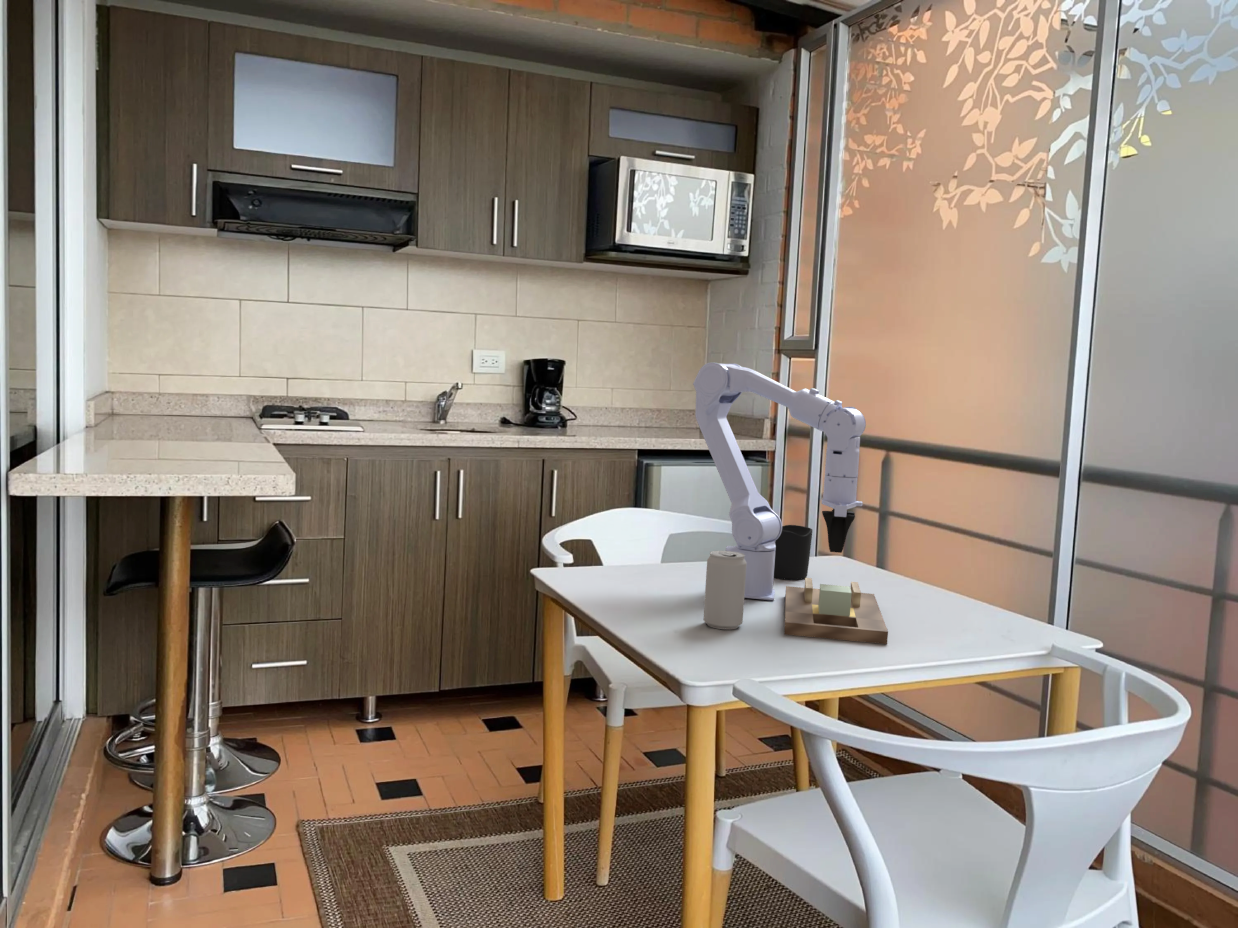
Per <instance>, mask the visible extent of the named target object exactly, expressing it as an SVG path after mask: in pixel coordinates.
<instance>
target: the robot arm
mask: <svg viewBox="0 0 1238 928" xmlns="http://www.w3.org/2000/svg"><path fill="white" fill-rule="evenodd" d="M692 385H693V387H694V390H695V392H696V393H695V411H694V413H695V419H696V422H697V424H698V427H699V430H700V431H701V434H702V437H703V439H704V441H705V444H706V446H707V448H708V451H709V453H710V455H711V457H712V460H713V462H714V464H715V465H714V466H715V467H716V470H717V473H718V475H719V477H720V480H721V481H722V484H723V486H724V489H725V491H726V494H727V496H728V498H729V501H730V503H731V505H730V509H729V512H728V513H729V514H728V517H729V518H730V521H731V535H732V537H733V540H734V541H735V543H736V545H733V546H732V545H726V547H725V551H733V552H739V553H742V554H744V555H745V557H744V559H745V561H746V563H747V564H746V579H745V594H744V599H755V600H763V601H764V600H765V601H774V600H775V594H776V590H775V589H774V579H775V578H774V564H775V549H776V545H775V540H777V539H778V538H779V536H780V535H781V532H782V526H783V522H782V520H781V518H780V516H779V514H777V513H776V512H775V511H774V510H773V509H772V507H771V505H770V504H769V501H768V499H766V498H764V496H763V495H761V494H760V493H759V490H758V488H757V487H756V484H755V482H754V479H753V478H752V475H751V472H750V470H749V467H748V466H747V465H748V464H747V463H746V461H745V457H744V455H743V454H742V451H741V449H740V447H739V444H738V442H737V439H736V438H735V437H736V436H735V434H734V433H733V430H732V428H731V426H730V423H729V421H728V417H727V416H728V415H729V414H728V413H729V412H730V410H731V407H732V405H733V404H734V403H735V402H736V400H737V399H738V398H739V397H741V395H742V394H743V393H753V394H756V395H758V396H760V397H763V398H765V399H767V400H770V401H771V402H774V403H777V404H779V405H781V406H783V407H786V408H787V409H788V411H789V414H790V416H791V418H793V419H794V420H796V421H799V422H801V423H803V424H806V425H808V426H809V427H812V428H814V429H816V430H818V431H820V432H824V435H825V436H826V438H827V441H826V442H827V443H826V453H825V464H824V466H825V467H824V478H823V479H824V481H823V492H822V493H823V494H822V495H823V496H822V498H821V504H822V505H824V506H826V507H829V508H832V509H831V510H822V512H821V513H822V517H823V518H824V521H825V525H826V530H827V531H826V532H827V542H828V543H827V544H828V549H829V552H830V553H837V554H838V553H842V552H843V550H844V546H845V543H846V539H847V535H848V533H849V530H850V527H851V525H852V523H853V521H854V520H855V518H856V515H855V512H854V511H851V510H850V509H853V508H855V507H863V501H860V500H857V489H858V488H857V487H858V477H859V463H860V452H861V451H860V445H861V436H862V435H863V434H864V433H865V429H866V425H867V424H866V418H865V416H864V414H863V413H862V412H861V411H860V410H858V409H857V408H856V407H854V406H845V407H843V405H842V404H843V401H840V400H839V399H837V400H835V401H834V400H832V399H830V398H828V397H825V396H824V395H821V394H819V393H820V390H818V389H816V388H814V387H813V388H811V387H810V389H808V388H802V389H800V390H798V391H795V390H794V389H792V388H790V387H788V386H786V385H784V384H782V383H780V382H778V381H776V380H774V379H772V378H770V377H768V376H766V375H764V374H762V373H760V372H759V371H757V370H755V369H752V368H749V367H745V366H741V365H739V364H738V363H720V362H719V363H718V362H713V361H712V362H707V363H705V364H704V365H702V366H701V367H700V368H699V370H698V373H696V377H695V378H694V381H693V383H692Z"/></svg>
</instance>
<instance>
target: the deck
mask: <svg viewBox="0 0 1238 928" xmlns="http://www.w3.org/2000/svg"><path fill="white" fill-rule="evenodd" d="M859 585H860V584H859V582H858V581H850V589H851V592H852V595H851V608H850V617H849V616H838V615H828V614H819V608H818V605H819V592H820V588H814V586H813V578H811V577H806V578H805V579H804V586H803V587H800V586H799V587H798V586H789V585H786V586H785V596H784V597H785V598H784V599H785V601H784V631H783V632H784V635H786V636H787V635H788V636H796V637H797V636H798V637H808V638H818V639H827V640H828V639H831V640H838V641H847V642H848V641H850V642H860V643H872V644H880V645H888V638H889V637H888V636H889V631H888V628H887V627H888V626H887V625H886V622H885V620H884V617H883V615H882V612H881V611H882V610H881V609H880V607H879V604H878V600H877V598H876V595H875V593H866V592H861V588H860V586H859Z"/></svg>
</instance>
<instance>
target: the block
mask: <svg viewBox="0 0 1238 928" xmlns="http://www.w3.org/2000/svg"><path fill="white" fill-rule="evenodd" d="M850 588H851V586H847V585H846V586H845V585H838V584H837V585H835V584H834V585H833V584H822V583H820V584H819V589H820V592H819V605H818V608H819V614H828V615H838V616H849V617H850V608H851V595H852V592H851V589H850Z"/></svg>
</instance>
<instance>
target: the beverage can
mask: <svg viewBox="0 0 1238 928" xmlns="http://www.w3.org/2000/svg"><path fill="white" fill-rule="evenodd" d="M744 557H745V555H744V554H742V553H739V552H733V551H726V550H713V551H709V557H708V558H707V560H706V574H705V575H706V576H705V590H704V602H703V603H704V604H703V606H704V607H703V622H705V624H707V626H708V627H710V628H714V629H718V630H735V629H738V628H739V626H742V624H743V622H744V620H743V619H744V608H745V607H744V604H745V598H744V594H745V579H746V564H747V563H746V561H745V559H744Z"/></svg>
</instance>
